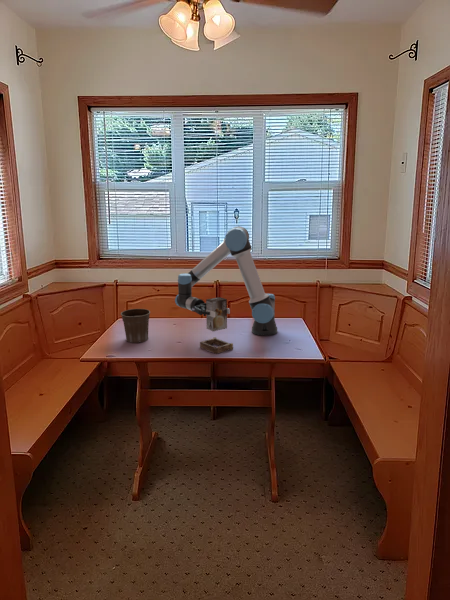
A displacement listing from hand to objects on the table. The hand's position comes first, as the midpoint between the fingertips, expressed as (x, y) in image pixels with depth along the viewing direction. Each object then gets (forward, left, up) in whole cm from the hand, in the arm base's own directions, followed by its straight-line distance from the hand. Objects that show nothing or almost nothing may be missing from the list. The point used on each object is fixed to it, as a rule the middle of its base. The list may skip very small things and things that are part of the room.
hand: (222, 313), depth 226 cm
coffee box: (0, -5, -10) cm, 11 cm away
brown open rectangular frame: (+1, -5, -20) cm, 21 cm away
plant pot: (+24, -46, -21) cm, 56 cm away
